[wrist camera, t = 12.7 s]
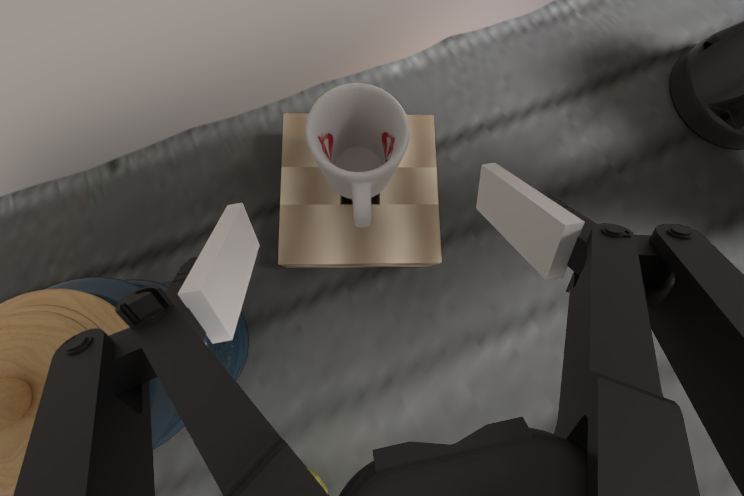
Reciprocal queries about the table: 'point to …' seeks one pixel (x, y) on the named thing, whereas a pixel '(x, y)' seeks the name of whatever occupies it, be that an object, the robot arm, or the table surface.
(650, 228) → the table surface
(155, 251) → the table surface
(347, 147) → the cup
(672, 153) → the table surface
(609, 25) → the table surface
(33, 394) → the canister
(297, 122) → the opening block
